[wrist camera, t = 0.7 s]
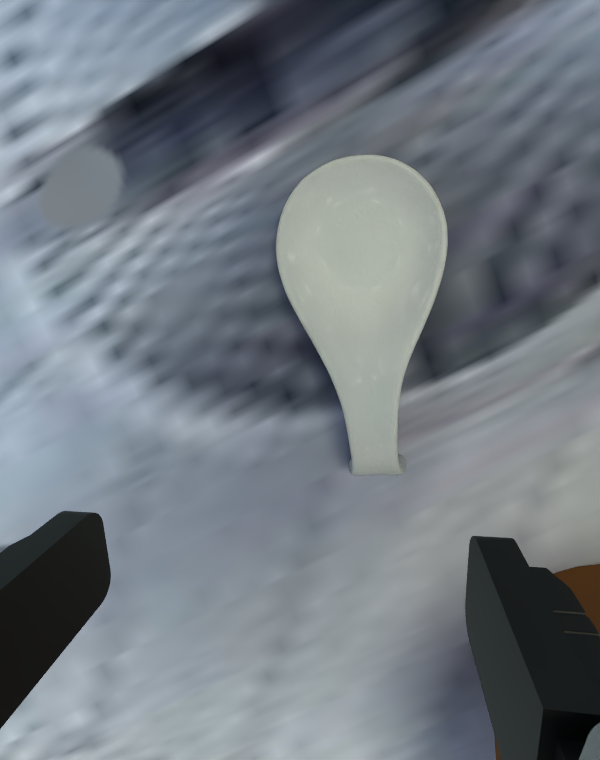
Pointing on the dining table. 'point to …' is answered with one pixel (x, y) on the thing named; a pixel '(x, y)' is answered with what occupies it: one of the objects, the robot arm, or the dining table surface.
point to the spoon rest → (364, 287)
